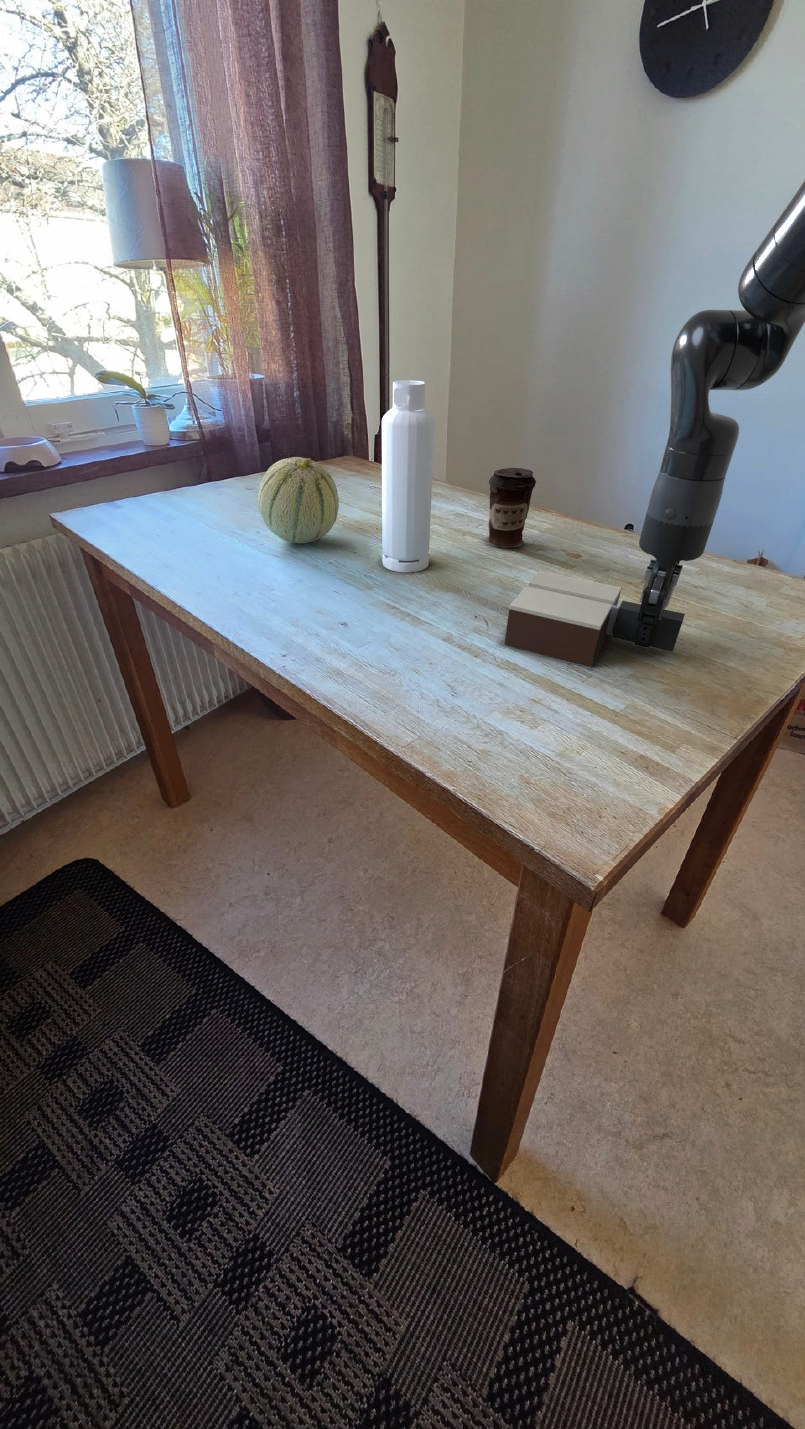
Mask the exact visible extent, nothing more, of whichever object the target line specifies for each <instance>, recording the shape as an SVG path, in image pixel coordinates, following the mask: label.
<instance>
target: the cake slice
mask: <svg viewBox="0 0 805 1429" xmlns="http://www.w3.org/2000/svg"><path fill="white" fill-rule="evenodd" d="M528 586H530V587H534V588H539V589H543V590H548V591H553V592H557V593H562V594H566V595H571V596H576V597H580V598H585V599H589V600H594V601H599V602H603V603H608V604H612V605H614V606H619V605H618V604H619V601H620V596H621V593H622V589H623V588H622V587H621V586H618V585H612V584H607V583H602V582H597V581H594V580H593V581H592V580H587V579H584V578H579V577H574V576H570V575H569V576H568V575H563V574H559V573H554V572H550V571H544V570H538V571H537V573H536V574H535V575H534V576H533V577H532V578H531V580H530V581H528ZM608 635H609V633H606V634H605V638H604V641H606V639H607V637H608Z"/></svg>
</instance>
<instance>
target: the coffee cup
mask: <svg viewBox="0 0 805 1429" xmlns="http://www.w3.org/2000/svg"><path fill="white" fill-rule="evenodd" d="M533 475H534V472H533V470H532V469H527V468H522V467H507V468H500V469H497V470H493V475H492V476H490V478H489V480H488V484H489V508H488V509H489V517H488V543H489V544H490V545H492V546H494V547H499V548H504V549H505V548H516V547H520V546H522V545H523V536H524V534H523V531H524V529H525V524H526V520H527V518H528V514H529V511H530V504H531V500H532V494H533V491H534V488H535V486H536V483H537V481H536V478H535V477H534V476H533Z"/></svg>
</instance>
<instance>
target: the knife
mask: <svg viewBox="0 0 805 1429" xmlns="http://www.w3.org/2000/svg"><path fill="white" fill-rule="evenodd" d="M640 607H641V603H636V602H632V601H628V600H622V601H621V603H620V605H617V606H614V605H612V609H611V613H610V617H609V621H608V626H607V630H606V633H608V635H609V634H610V635H611V638H612V639H616V640H620V641H624V642H627V643H633V642H634V638H635V635H636V631H637V627H638V624H639V621H637V620H638V618H637V616H638V614H639V611H640ZM649 613H650V612H649ZM685 615H686V613H683V612H678V611H673V610H670V609H666V608H665V609H662V613H661V616H660V618H661V620H660V622H659V623H658V624H657V627H656V630H655V633H654V637H653V640H652V643H651V646H650V647H649V648H654V649H658V650H662V651H666V652H671V653H673V652H674V650H675V646H676V643H677V641H678V638H679V637H678V636H679V634H680V632H681V628H682V625H683V622H684V619H685ZM633 644H634V643H633Z"/></svg>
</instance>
